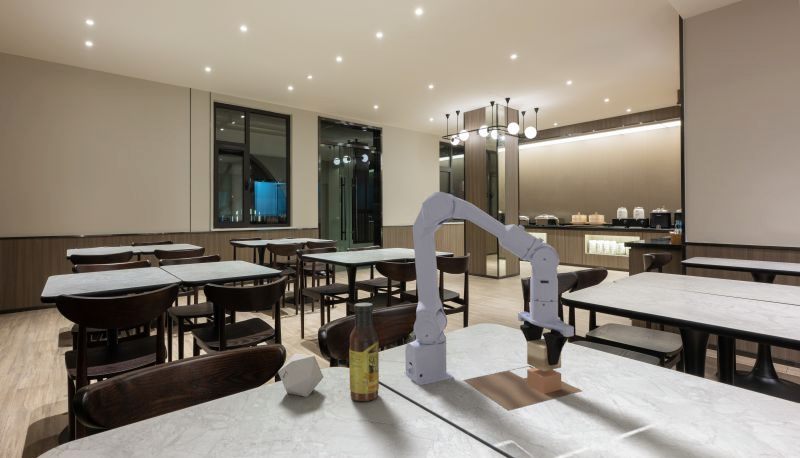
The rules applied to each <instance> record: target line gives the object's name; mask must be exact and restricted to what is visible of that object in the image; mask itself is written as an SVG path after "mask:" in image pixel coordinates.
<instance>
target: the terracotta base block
mask: <svg viewBox="0 0 800 458" xmlns="http://www.w3.org/2000/svg"><path fill="white" fill-rule="evenodd" d="M561 381H562V373H561V372H559V371H556V369H553V370H548V371H542V370H539V369H537V368H535V367H534V368H532V369H527V385H528V386H530V387H532V388H534V389H536V390H538V391H539V392H541V393H543V394H545V393H549V392H553V391H557V390H561Z"/></svg>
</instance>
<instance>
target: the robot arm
mask: <svg viewBox="0 0 800 458" xmlns="http://www.w3.org/2000/svg"><path fill="white" fill-rule="evenodd" d="M451 219H457V220H458V219H460V220H467V221H469V222H471V223H473V224H474V225H476V226H478V227H480V228H482V229H483V230H484V231H486V232H488V233H490V234H492V235H493V236H495V237H497V239H498V243H499V246H500V247H502V248H503V249H504V250H507V251H508V252H510V253H511V254H513V255H514V256H516V257H518V258H519V259H521V260H522V261H527V262H529V263H530V266H531V277H530V280H529V281H530V282H529V283H530V284H529V285H530V287H529V288H530V290H529V291H530V293H529V294H530V295H529V296H530V297H529V301H530V302H529V303H530V305H529V306H530V307H529V311H530V312H528V311H519V312H517V317H518V318H517V320H518V321H519V322H524V324H521V325H520V326H519V328H520V331H521V333H522V334H523V336H524V339H525V341H526V343H527V342H528V341H533V340H539V339H542V336H543V339H545V342H546V346H547V357H548V363H549V365H551V366H552V365H557V364H558V361H559V358H560V354H561V355H562V351H563V348H564V346H565V344H566V342H567V341H568V340H569V339H570V337H574V335H575V332H574V331H575V330H574V329H575V327H574V326H572V325H570V324H567V323H566V322H564V321H562V320H561V317H559V280H558V279H559V278H558V274H559V273H558V267H559V265H560V262H561V259H560V257H559V254H558V252H557V251H556V249H555V248H554V247H553V246H552V245H550V243H546V242H544V238H542V237H539V238H538V237H536V236H534V235H533V234H531V233H530V232H528V231H526V230H525V226H523V225H522V224H519V225H516V224H515V223H512V224H508V225H505V224H504V223H502V222H500V221H499V220H497V219H496V218H494V217H493V216H491V215H490V214H488V213H487V212H485V211H484V210H482V209H481V208H479V207H478V206H476V205H474V204H473V203H472V202H469V201H466V200H465V199H462V198H459V197H456V196H455V195H454V194H452V193H446V192H443V191H436V192H433V193H431V194H430V195H429V196H428V197H427V198H426V199H425V200H424V201H423V202H422V203H421V207H420V211H419V212H418V215H417V216H416V218H415V221H414V222H413V225H412V236H413V237H412V239H413V249H414V262H415V273H416V285H417V286H416V287H417V296H418V299H417V300H418V302H417V307H416V313H415V315H416V319H415V321H414V325H413V334H414V336H415V340H413V341H411V342H408V343H407V344H406V346H405V352H404V353H405V371H404V374H405V375H406V376H407V377H408V378H409V379H410V380H411V381H413V382H414V383H415V384H417V386H422V385H423V386H424V385H427V384H431V383H432V384H433V383H437V382H442V381H446V380H447V381H448V380H451V379H455V378H454V377H455V376H454V375H453V374H451V373H449V372H448V371H447V336H446V335H445V333H444V330H445V329H446V327H447V325H448V317H447V315H446V313H445V311H444V309H443V303H442V302H443V301H442V300H441V297H440V291H439V288H440V287H439V279H438V278H439V277H438V275H439V274H438V266H437V265H438V264H437V252H436V241H435V233H436V232H437V231H438V229H440V227H442V225H443V224H444V223H446V222H449V221H450V220H451ZM545 329H546V330H549V331H548V332H544V330H545Z"/></svg>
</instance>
